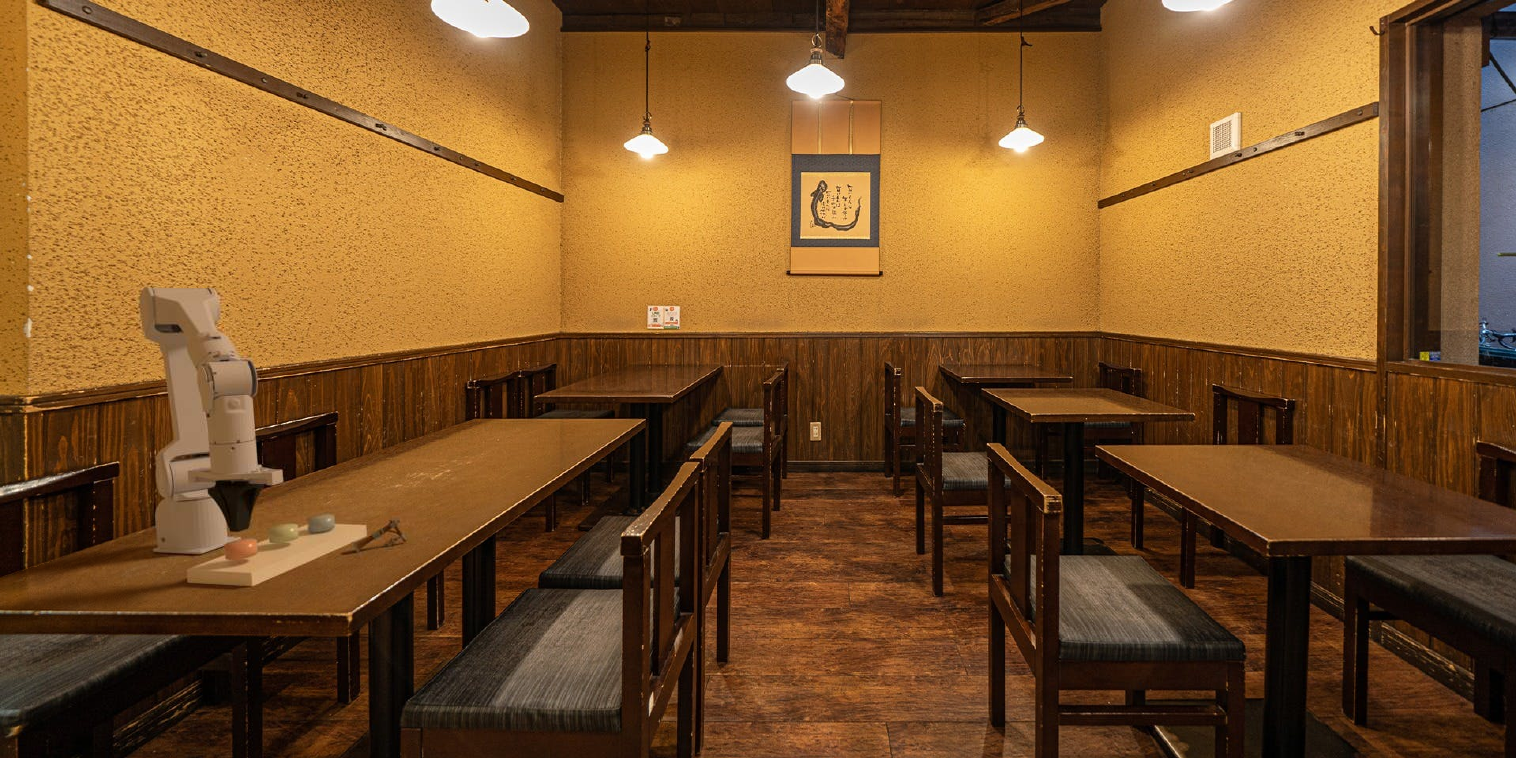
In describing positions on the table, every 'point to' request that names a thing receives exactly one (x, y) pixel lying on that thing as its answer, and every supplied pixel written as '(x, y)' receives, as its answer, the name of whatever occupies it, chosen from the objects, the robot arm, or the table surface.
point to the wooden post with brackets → (378, 534)
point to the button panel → (275, 557)
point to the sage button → (283, 533)
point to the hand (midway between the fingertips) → (239, 530)
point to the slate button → (321, 523)
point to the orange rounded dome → (240, 549)
